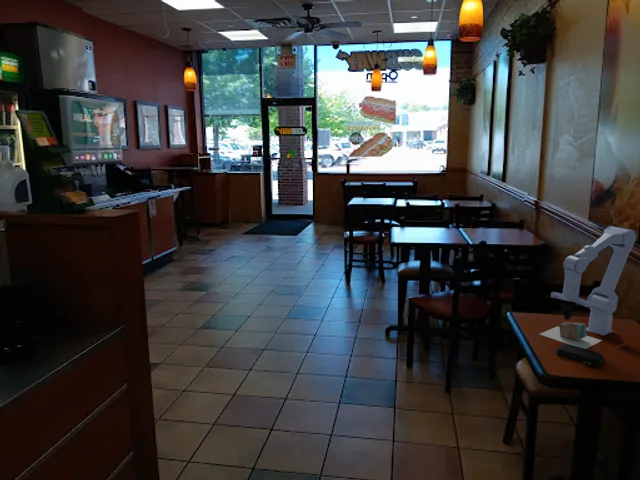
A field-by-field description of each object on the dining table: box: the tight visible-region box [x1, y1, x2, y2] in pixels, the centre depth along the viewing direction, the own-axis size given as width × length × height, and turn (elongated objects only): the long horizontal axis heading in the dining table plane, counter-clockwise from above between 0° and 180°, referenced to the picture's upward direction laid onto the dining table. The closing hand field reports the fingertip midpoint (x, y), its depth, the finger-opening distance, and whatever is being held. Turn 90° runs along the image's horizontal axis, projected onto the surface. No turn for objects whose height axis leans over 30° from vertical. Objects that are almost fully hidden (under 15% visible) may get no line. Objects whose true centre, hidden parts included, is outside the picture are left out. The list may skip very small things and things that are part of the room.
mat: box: [539, 326, 602, 349], centre depth 203 cm, size 15×18×1 cm
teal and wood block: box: [558, 321, 588, 339], centre depth 201 cm, size 5×5×8 cm
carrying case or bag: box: [555, 343, 605, 367], centre depth 185 cm, size 11×3×15 cm
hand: (567, 319), depth 202 cm, fingers closed
